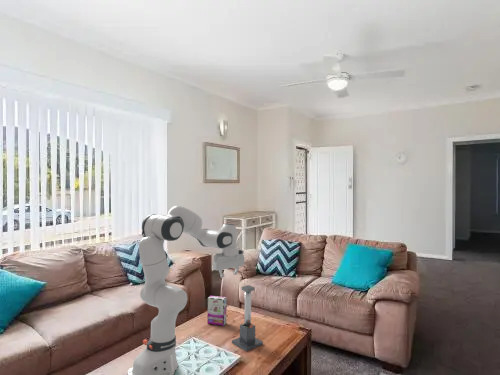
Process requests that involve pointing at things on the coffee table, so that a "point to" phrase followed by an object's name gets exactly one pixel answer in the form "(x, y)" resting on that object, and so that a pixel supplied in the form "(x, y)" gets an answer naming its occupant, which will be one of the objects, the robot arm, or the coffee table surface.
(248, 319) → the steel post
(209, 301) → the candy bar box
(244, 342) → the jack stand base
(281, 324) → the coffee table surface
